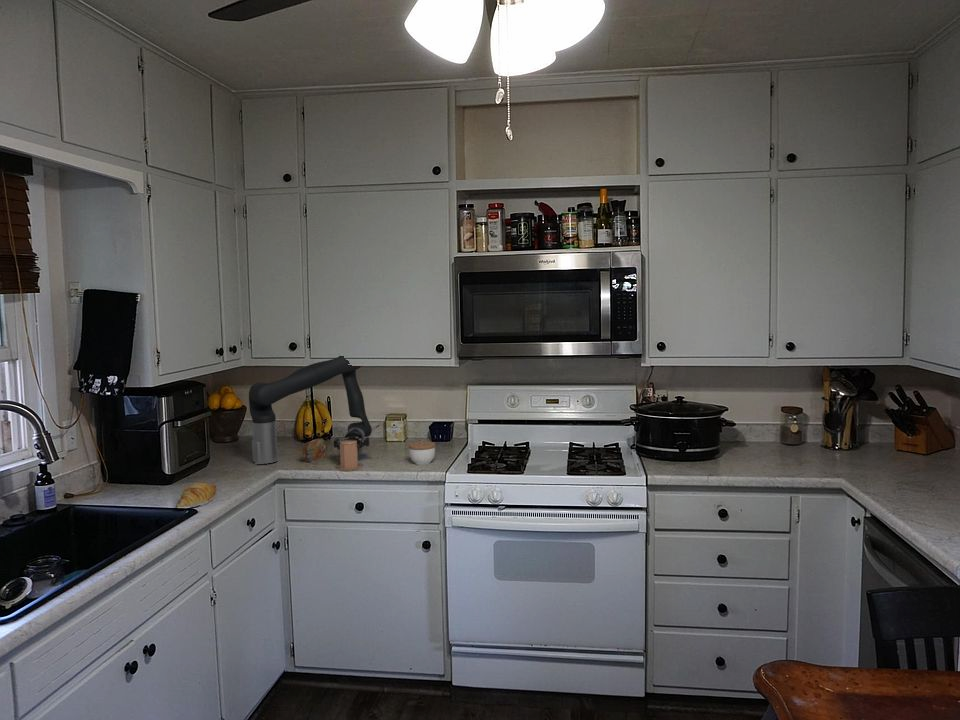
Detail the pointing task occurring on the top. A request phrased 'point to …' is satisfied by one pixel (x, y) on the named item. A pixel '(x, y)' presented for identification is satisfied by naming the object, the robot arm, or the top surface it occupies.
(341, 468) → the pot lid
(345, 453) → the salmon orange block
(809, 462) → the top surface
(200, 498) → the croissant
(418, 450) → the lidded jar
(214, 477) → the top surface
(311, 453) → the mottled brown slab
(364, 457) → the mat
